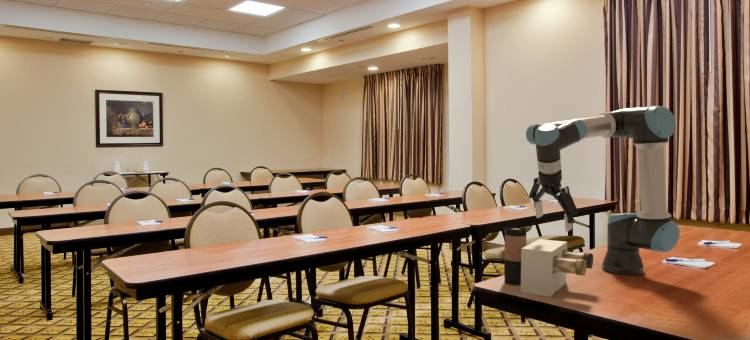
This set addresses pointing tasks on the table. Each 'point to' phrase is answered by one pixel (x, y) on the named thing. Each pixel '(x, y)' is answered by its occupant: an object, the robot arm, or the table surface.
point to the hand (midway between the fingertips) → (554, 223)
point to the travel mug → (513, 254)
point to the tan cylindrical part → (580, 257)
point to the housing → (541, 267)
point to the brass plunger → (569, 265)
